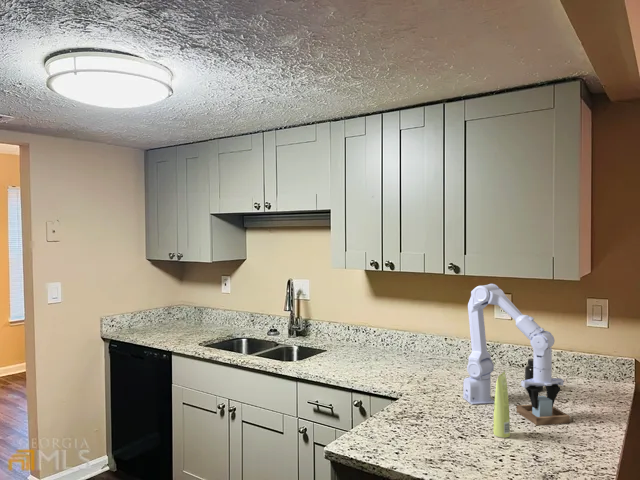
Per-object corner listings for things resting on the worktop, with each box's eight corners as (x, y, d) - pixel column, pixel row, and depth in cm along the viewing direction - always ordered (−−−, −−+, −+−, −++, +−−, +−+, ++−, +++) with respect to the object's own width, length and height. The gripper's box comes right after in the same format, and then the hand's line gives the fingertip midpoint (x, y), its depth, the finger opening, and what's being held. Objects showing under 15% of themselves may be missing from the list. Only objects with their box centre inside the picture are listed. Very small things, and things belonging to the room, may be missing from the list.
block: (539, 418, 165) (539, 400, 165) (532, 413, 169) (532, 396, 169) (552, 417, 165) (552, 400, 165) (544, 412, 170) (544, 395, 170)
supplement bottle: (532, 393, 192) (532, 362, 192) (521, 387, 198) (521, 358, 198) (547, 391, 194) (547, 361, 193) (535, 386, 200) (535, 357, 200)
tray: (536, 425, 160) (536, 418, 160) (516, 411, 172) (516, 405, 172) (569, 422, 162) (569, 416, 162) (547, 409, 174) (547, 403, 174)
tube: (489, 431, 156) (489, 370, 156) (504, 430, 156) (504, 370, 156) (497, 438, 150) (497, 376, 150) (513, 438, 151) (513, 375, 150)
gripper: (529, 371, 162) (529, 412, 162) (569, 369, 164) (569, 409, 164) (517, 366, 169) (517, 404, 169) (556, 363, 171) (556, 402, 171)
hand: (542, 406), depth 167 cm, fingers open, 5 cm apart
